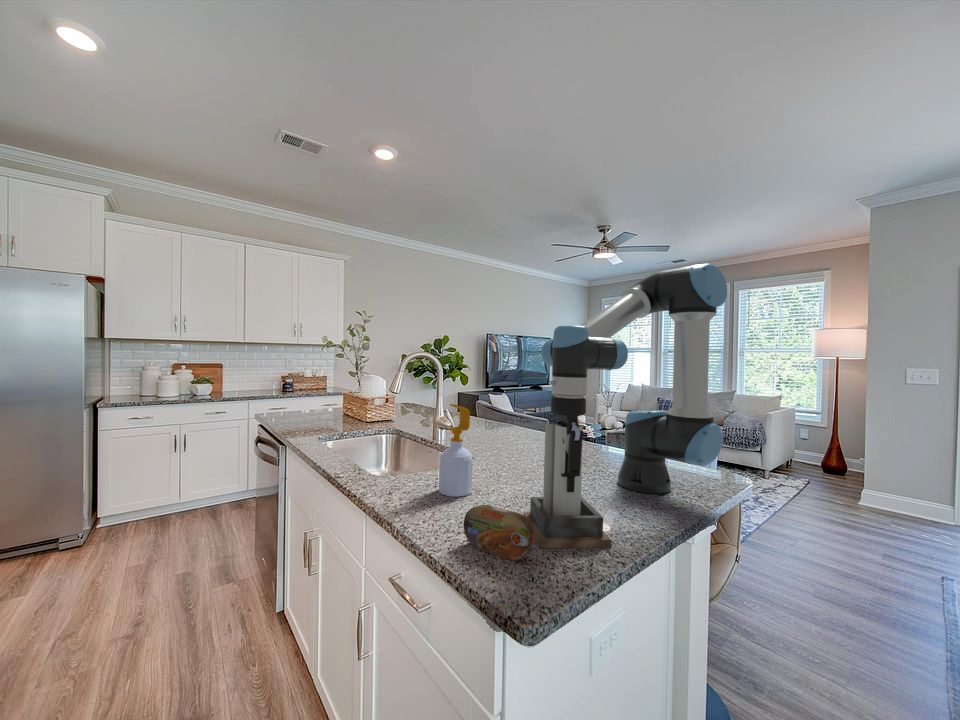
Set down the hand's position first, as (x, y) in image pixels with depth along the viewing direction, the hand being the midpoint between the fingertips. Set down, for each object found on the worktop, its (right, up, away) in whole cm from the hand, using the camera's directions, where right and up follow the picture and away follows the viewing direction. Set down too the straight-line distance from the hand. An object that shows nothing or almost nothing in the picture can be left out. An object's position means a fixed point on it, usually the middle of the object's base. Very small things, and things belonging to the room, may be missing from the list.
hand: (565, 502), depth 88 cm
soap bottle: (-26, -6, +24) cm, 35 cm away
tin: (-15, -6, -10) cm, 19 cm away
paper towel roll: (0, -4, 0) cm, 4 cm away
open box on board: (0, -6, 0) cm, 6 cm away
